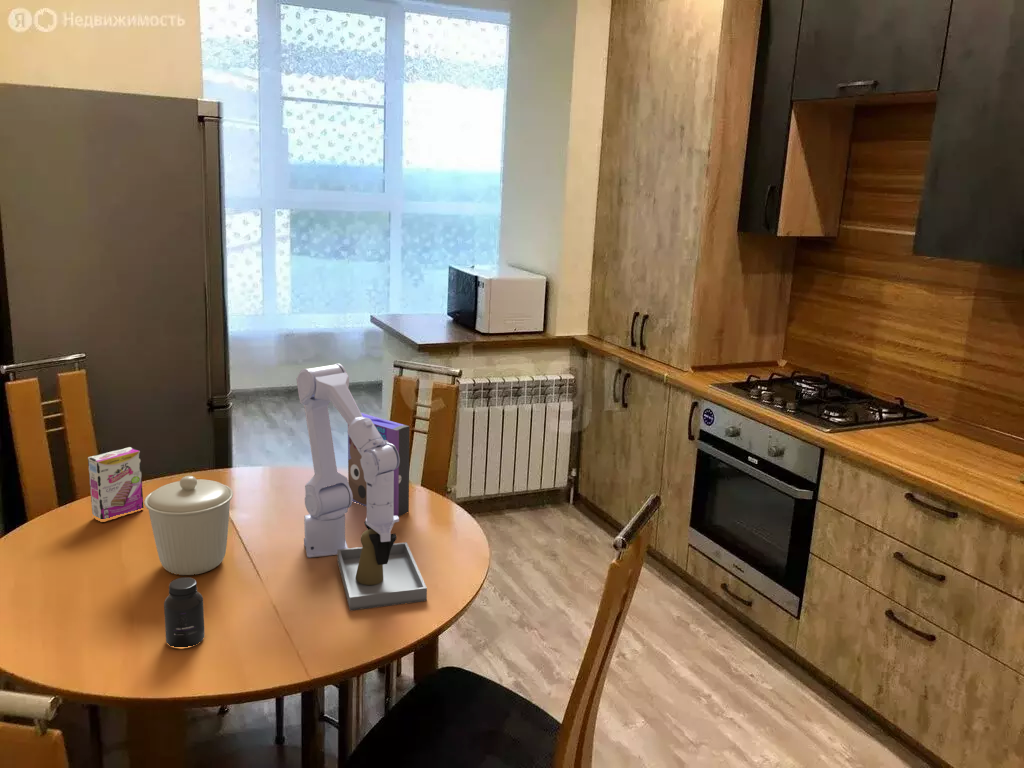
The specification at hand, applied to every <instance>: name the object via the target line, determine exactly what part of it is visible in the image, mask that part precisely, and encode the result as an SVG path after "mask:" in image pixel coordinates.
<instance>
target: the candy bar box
mask: <svg viewBox="0 0 1024 768" xmlns="http://www.w3.org/2000/svg"><path fill="white" fill-rule="evenodd" d="M141 461H142V460H141V451H140V450H138V449H136V448H134V447H132V446H128V447H125V448H121V449H120V448H119V449H116V450H112V451H109V452H108V451H107V452H104V453H99V454H96V455H92V456H88V457H87V463H88V465H87V466H88V477H89V487H90V488H89V490H90V499H91V500H90V502H91V513H92V514H93V515H94V516H96V517H98V518H100V519H106V518H110V517H113V516H116V515H120V514H124V513H128V512H131V511H135V510H138V509H141V508H144V495H143V479H142V463H141ZM93 515H92V516H93Z"/></svg>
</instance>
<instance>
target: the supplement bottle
mask: <svg viewBox="0 0 1024 768" xmlns="http://www.w3.org/2000/svg"><path fill="white" fill-rule="evenodd" d="M197 583H198V582H197V580H196V579H195V578H192V577H190V576H189V577H188V576H187V577H186V576H185V577H183V576H182V577H179V578H176V579H173V580H172V581H170V582H169V584H168V596H166V598H165V599H164V602H163V609H164V610H163V611H164V614H163V615H164V629H165V641H166V644H167V643H168V644H169V645H170V646H174V647H188V646H193V645H196V644H198V643H199V642H201V641H202V642H203V640H204V639H205V634H206V633H205V615H204V614H205V612H204V611H205V610H204V609H205V607H204V597H203V595H202V593H200V592H199V591H198V584H197ZM203 638H204V639H203ZM202 642H201V643H202ZM168 644H167V645H168ZM199 644H200V643H199ZM199 644H198V645H199ZM169 645H168V646H169ZM170 646H169V647H170ZM196 646H197V645H196Z"/></svg>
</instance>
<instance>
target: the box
mask: <svg viewBox="0 0 1024 768" xmlns="http://www.w3.org/2000/svg"><path fill="white" fill-rule="evenodd" d="M362 547H363V546H361V547H360V546H359V547H357V546H356V547H351V548H349V547H348V548H347V549H338V550H337V555H336V557H337V565H338V569H339V573H340V578H341V580H342V581H341V582H342V585H343V588H344V593H345V597H346V600H347V605H348V609H349V611H350V612H351V611H359V610H366V609H367V610H368V609H375V608H382V607H390V606H397V605H403V604H404V605H405V603H407V604H413V603H420V602H421V601H422V602H427V597H428V596H427V595H428V587H427V585H426V583H425V581H424V578H423V576H422V574H421V571H420V569H419V567H418V565H417V561H416V560H415V558H414V555H413V553H412V551H411V549H410V547H409V544H408V542H397V543H396V542H394V544H393V546H392V548H391V551H390V555H389V559H388V563H387V564H383V581H382V582H381V583H379V584H375V585H365V584H361V583H359V582H358V581H357V580H356V573H357V569H358V564H359V560H360V555H361V551H362Z"/></svg>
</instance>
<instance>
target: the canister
mask: <svg viewBox="0 0 1024 768" xmlns="http://www.w3.org/2000/svg"><path fill="white" fill-rule="evenodd" d="M233 496H234V491H233V490H232V488H231V487H230V486H228V485H227V484H223V483H222V482H219V481H215V480H210V479H203V478H202V479H201V478H200V479H197V478H196V477H195V476H193V475H186V476H183V477H182V478H181V479H180V480H178V481H173V482H170V483H167V484H165V485H164V484H163V485H162V486H160V487H158V488H157V489H155V490H153V491H151V492H150V493H148V494H147V495H146V497H144V499H143V506H145V508H146V509H147V510H148V515H149V519H150V524H151V529H152V533H153V538H154V543H155V546H156V551H157V555H158V560H159V562H160V563H161V565H162V567H163V568H164V569H165V571H167V572H169V573H170V572H171V573H170V574H173V573H174V575H177V574H179V576H194V574H195V575H199V574H203V573H207V572H210V571H211V570H214V569H215V568H217V567H218V566H220V565H221V563H222V562H223V561H224V559H225V556H226V554H227V553H226V551H227V547H228V546H227V545H228V544H227V542H228V534H229V522H230V521H229V520H230V519H229V518H230V506H231V505H230V504H231V500H232V498H233Z"/></svg>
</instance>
